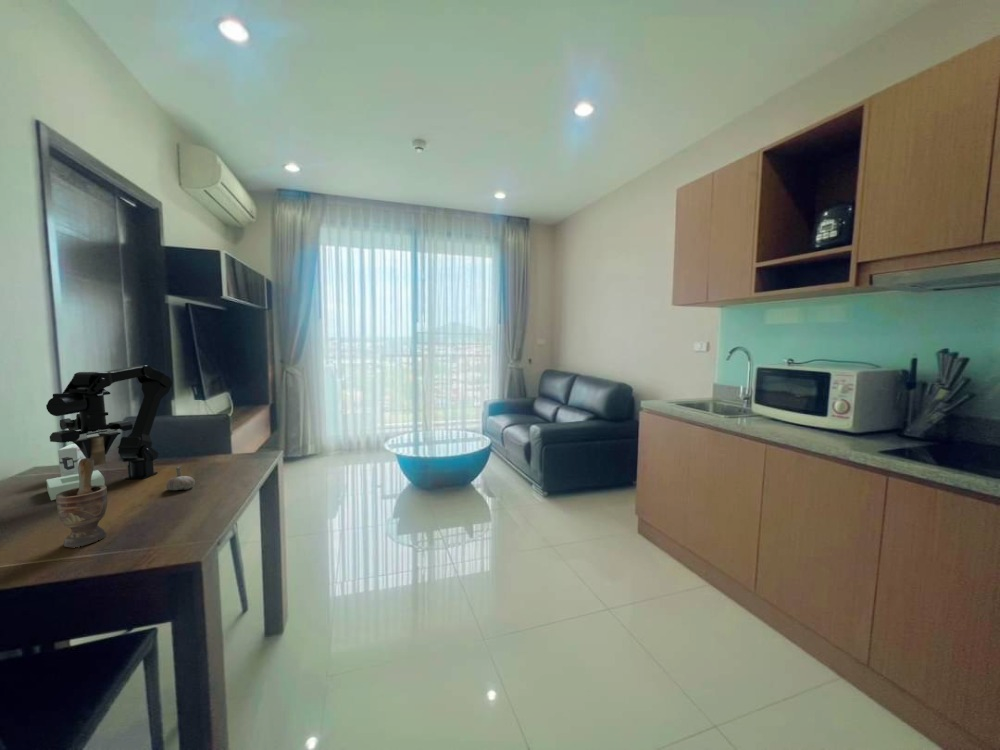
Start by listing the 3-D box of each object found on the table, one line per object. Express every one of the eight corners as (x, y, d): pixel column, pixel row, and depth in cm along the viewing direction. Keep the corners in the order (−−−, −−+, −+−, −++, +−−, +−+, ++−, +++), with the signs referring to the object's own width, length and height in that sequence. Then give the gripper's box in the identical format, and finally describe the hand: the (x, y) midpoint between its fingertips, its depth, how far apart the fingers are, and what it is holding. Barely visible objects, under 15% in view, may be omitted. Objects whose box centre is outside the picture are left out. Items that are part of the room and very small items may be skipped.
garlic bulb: (161, 491, 128) (160, 468, 127) (185, 484, 135) (184, 462, 134) (176, 494, 125) (175, 471, 125) (200, 486, 132) (198, 464, 132)
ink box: (72, 473, 143) (69, 443, 142) (90, 471, 146) (88, 442, 145) (60, 481, 136) (57, 449, 135) (79, 479, 138) (76, 447, 137)
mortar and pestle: (54, 539, 97) (47, 463, 95) (102, 525, 104) (96, 455, 102) (64, 553, 91) (57, 472, 89) (114, 537, 98) (108, 462, 96)
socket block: (99, 480, 136) (98, 470, 136) (105, 488, 129) (104, 477, 129) (47, 491, 127) (46, 479, 126) (50, 500, 120) (49, 488, 119)
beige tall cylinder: (109, 462, 127) (107, 435, 126) (97, 465, 123) (95, 439, 122) (96, 462, 127) (94, 435, 126) (84, 466, 123) (82, 439, 122)
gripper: (108, 404, 134) (112, 447, 136) (34, 414, 116) (39, 463, 117) (132, 405, 132) (136, 449, 133) (60, 416, 114) (65, 466, 115)
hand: (96, 456), depth 125 cm, fingers closed on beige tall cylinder, 4 cm apart
